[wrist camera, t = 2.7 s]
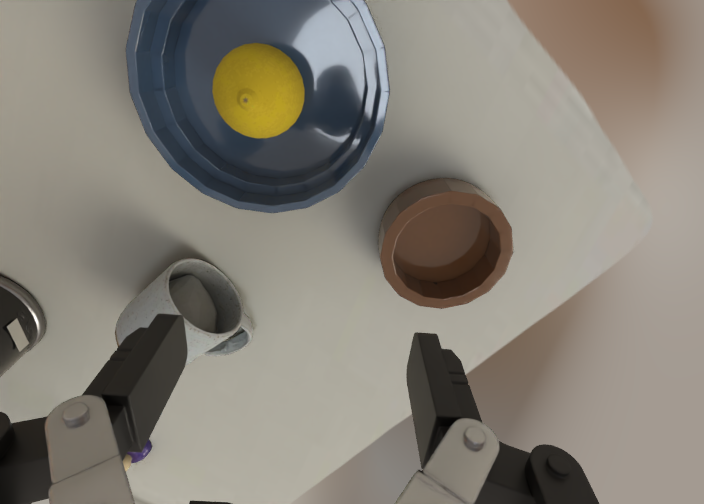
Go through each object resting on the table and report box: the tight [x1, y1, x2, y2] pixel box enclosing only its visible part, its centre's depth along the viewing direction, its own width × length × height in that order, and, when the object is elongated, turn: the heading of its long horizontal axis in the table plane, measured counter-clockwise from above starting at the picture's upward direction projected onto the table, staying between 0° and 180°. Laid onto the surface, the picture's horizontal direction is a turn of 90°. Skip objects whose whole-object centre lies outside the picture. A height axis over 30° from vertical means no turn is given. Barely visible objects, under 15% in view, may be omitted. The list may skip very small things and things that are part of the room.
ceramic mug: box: [115, 258, 253, 365], centre depth 35 cm, size 11×8×8 cm
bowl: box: [126, 0, 390, 213], centre depth 27 cm, size 16×16×4 cm
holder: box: [378, 178, 513, 309], centre depth 33 cm, size 10×10×4 cm
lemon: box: [212, 43, 305, 138], centre depth 25 cm, size 6×6×8 cm
